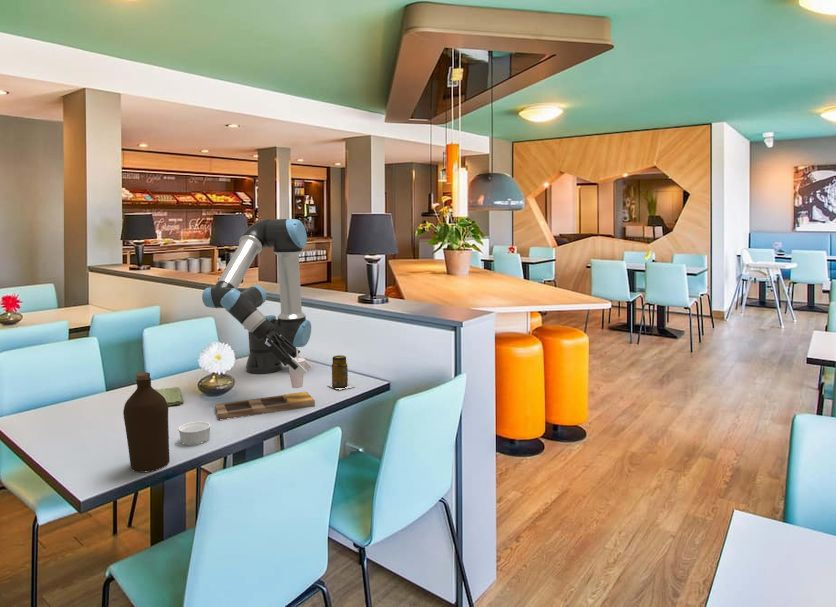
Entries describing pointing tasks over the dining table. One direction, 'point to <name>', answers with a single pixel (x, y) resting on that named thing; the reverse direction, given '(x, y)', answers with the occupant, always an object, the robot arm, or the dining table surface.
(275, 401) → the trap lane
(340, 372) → the condiment
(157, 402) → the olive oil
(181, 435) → the ramekin
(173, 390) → the washcloth
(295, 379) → the smoothie
